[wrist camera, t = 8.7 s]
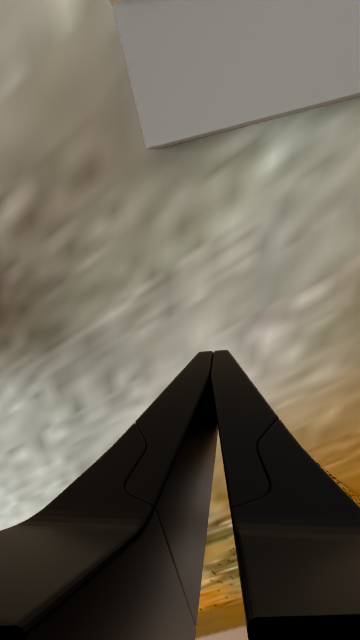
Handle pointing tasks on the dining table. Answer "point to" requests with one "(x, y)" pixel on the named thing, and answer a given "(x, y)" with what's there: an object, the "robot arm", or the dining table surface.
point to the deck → (235, 61)
